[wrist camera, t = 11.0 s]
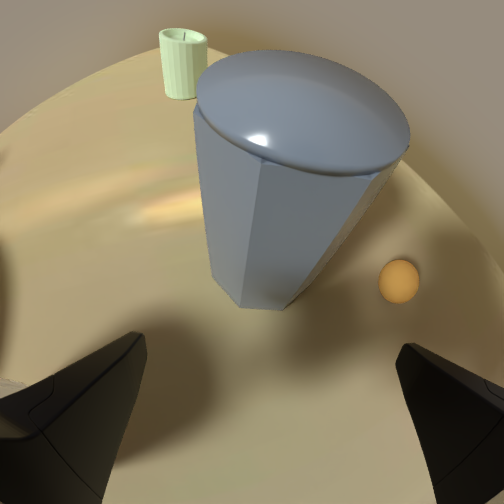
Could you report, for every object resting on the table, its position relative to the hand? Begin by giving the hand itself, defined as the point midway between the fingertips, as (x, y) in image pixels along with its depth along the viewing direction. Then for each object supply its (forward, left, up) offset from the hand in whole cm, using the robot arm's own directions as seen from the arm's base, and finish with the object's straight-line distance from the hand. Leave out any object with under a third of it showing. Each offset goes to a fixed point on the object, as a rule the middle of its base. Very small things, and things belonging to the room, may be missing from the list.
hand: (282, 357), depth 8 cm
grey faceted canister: (+6, -4, -8) cm, 10 cm away
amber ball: (-1, -11, -8) cm, 13 cm away
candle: (+28, -8, -8) cm, 30 cm away
